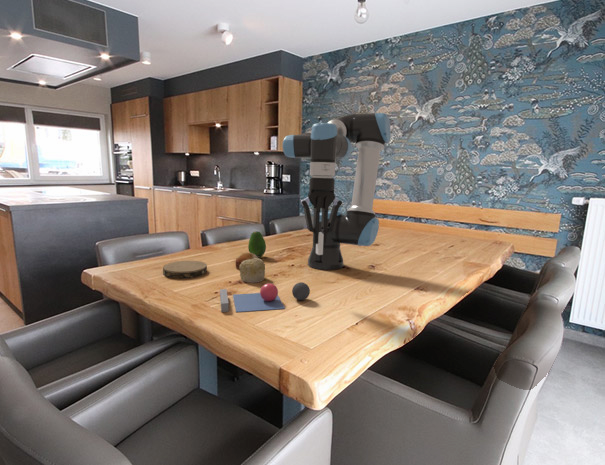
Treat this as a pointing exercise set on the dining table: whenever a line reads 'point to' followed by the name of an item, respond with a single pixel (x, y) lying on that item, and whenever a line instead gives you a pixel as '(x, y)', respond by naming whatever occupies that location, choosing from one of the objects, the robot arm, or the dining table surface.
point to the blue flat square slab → (255, 303)
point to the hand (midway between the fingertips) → (319, 253)
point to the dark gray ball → (301, 291)
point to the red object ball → (269, 292)
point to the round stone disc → (184, 269)
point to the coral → (252, 270)
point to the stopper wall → (224, 300)
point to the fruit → (257, 244)
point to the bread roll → (244, 258)
